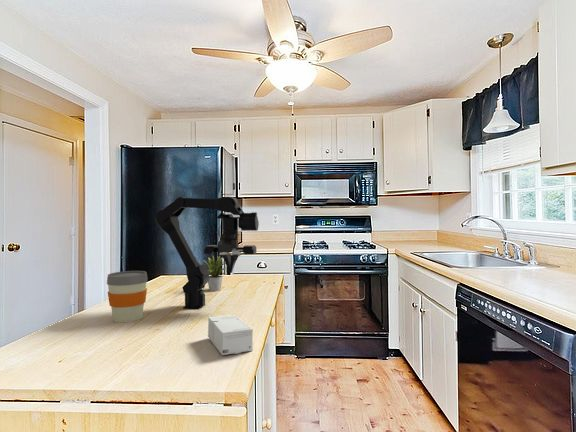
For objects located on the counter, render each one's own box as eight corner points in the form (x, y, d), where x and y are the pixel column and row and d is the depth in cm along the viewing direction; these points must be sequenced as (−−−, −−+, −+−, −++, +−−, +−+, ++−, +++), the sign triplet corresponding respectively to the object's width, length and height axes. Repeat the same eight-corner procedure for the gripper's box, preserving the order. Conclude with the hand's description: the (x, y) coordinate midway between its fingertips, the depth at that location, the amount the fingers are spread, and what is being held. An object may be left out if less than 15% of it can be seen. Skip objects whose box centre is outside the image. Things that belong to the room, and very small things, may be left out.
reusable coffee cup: (156, 315, 122) (155, 272, 122) (125, 325, 111) (125, 278, 111) (129, 311, 128) (129, 269, 127) (98, 321, 116) (97, 275, 116)
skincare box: (234, 313, 103) (254, 327, 90) (234, 334, 103) (254, 351, 90) (206, 317, 99) (222, 331, 86) (206, 338, 99) (222, 356, 86)
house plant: (227, 294, 154) (227, 256, 154) (196, 294, 154) (195, 256, 154) (233, 287, 168) (233, 252, 168) (204, 287, 168) (204, 253, 168)
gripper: (198, 232, 124) (198, 276, 125) (250, 232, 122) (250, 277, 122) (208, 230, 135) (209, 271, 136) (256, 230, 133) (256, 271, 133)
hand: (230, 272), depth 131 cm, fingers closed
